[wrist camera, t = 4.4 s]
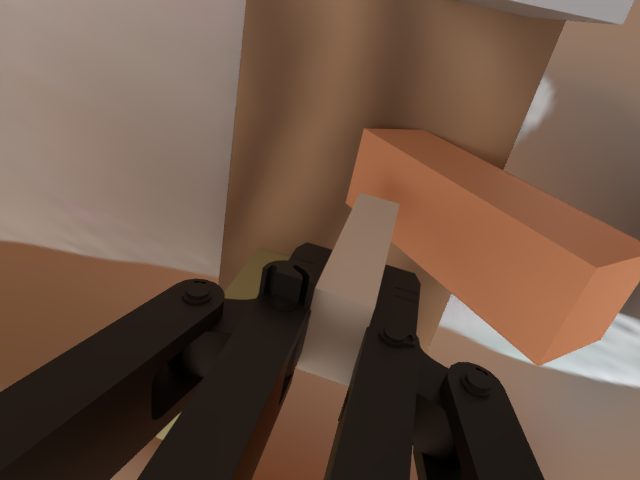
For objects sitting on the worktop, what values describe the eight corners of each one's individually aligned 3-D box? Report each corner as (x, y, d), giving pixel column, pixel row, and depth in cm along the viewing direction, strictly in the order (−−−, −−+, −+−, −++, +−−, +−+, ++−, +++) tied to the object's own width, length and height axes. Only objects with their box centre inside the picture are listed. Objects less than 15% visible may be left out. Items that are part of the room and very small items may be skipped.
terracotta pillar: (345, 202, 23) (537, 366, 15) (363, 128, 21) (597, 267, 13) (403, 198, 25) (600, 339, 17) (424, 129, 23) (659, 251, 15)
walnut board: (221, 313, 34) (214, 323, 33) (280, -245, 19) (271, -259, 18) (412, 375, 33) (411, 387, 32) (644, -186, 17) (657, -199, 16)
